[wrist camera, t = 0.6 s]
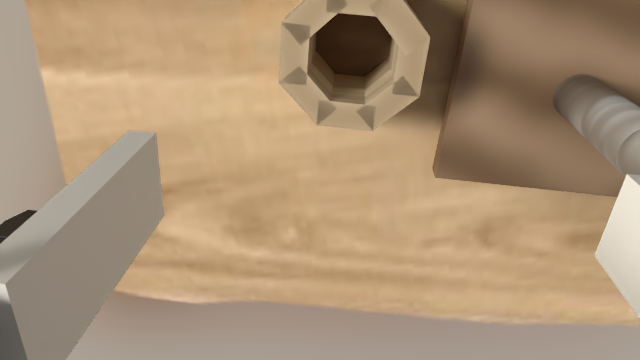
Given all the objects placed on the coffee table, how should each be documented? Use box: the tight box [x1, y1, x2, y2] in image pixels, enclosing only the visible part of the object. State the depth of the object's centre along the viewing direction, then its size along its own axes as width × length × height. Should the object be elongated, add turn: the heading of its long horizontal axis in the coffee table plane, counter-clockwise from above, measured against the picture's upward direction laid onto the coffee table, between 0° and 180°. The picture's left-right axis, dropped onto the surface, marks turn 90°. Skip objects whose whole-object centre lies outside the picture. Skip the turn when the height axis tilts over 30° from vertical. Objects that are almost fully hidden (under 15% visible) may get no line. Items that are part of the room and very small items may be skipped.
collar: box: [279, 0, 430, 131], centre depth 30 cm, size 8×8×6 cm
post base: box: [433, 0, 640, 197], centre depth 28 cm, size 14×16×12 cm
